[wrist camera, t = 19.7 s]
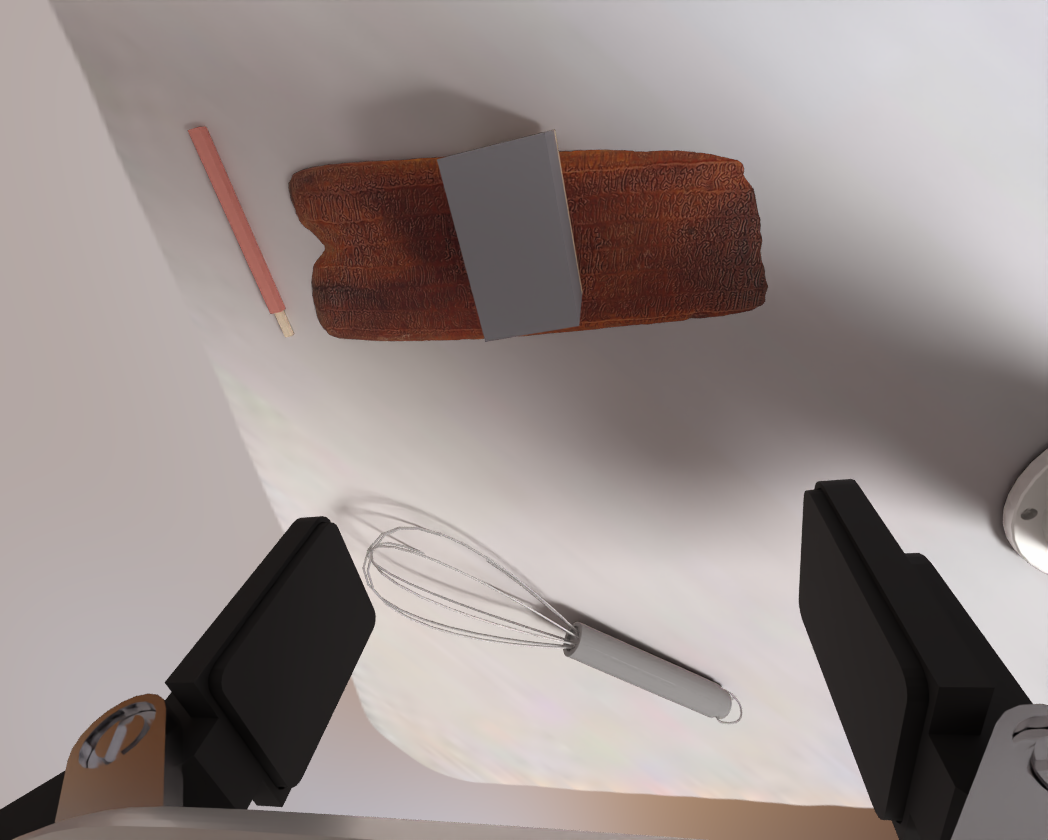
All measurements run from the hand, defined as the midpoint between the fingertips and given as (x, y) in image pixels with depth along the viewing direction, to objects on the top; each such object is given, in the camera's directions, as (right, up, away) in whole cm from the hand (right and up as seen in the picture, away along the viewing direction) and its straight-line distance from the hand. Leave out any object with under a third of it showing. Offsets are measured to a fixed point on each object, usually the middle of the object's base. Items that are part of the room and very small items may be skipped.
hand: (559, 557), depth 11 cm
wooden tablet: (0, +12, +20) cm, 23 cm away
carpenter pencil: (-17, +14, +20) cm, 29 cm away
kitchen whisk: (+3, -12, +33) cm, 35 cm away
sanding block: (-1, +13, +17) cm, 22 cm away
